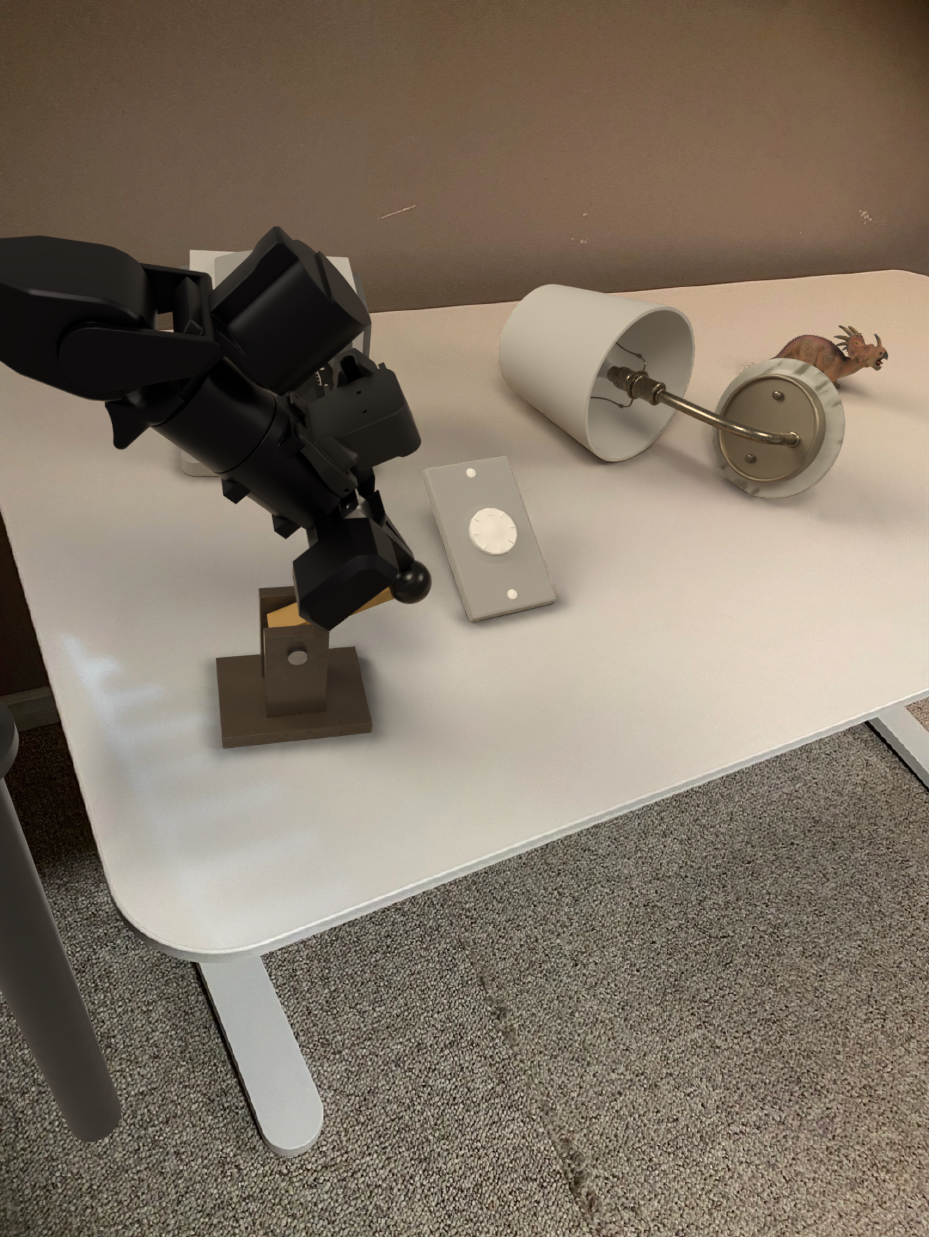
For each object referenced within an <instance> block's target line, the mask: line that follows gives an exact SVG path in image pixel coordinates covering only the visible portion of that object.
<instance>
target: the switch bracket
mask: <svg viewBox="0 0 929 1237" xmlns="http://www.w3.org/2000/svg"><path fill="white" fill-rule="evenodd" d="M257 592H258V621H259V622H258V626H259V628H258V630H259V631H258V632H259V653H257V654H245V655H233V656H222V657H221V656H220V657H215V668H216V681H217V694H218V706H219V718H220V719H219V720H220V731H221V732H220V733H221V744H222V749H230V748H239V747H249V746H258V745H259V746H260V745H267V744H275V743H285V742H287V743H288V742H295V741H304V740H313V739H323V738H333V737H341V736H342V737H343V736H351V735H359V734H360V735H361V734H368V733H369V734H370V733H372V727H373V720H372V716H371V711H370V706H369V703H368V699H367V694H366V688H365V685H364V684H365V683H364V679H363V676H362V670H361V665H360V661H359V657H358V652H357V649H356V648H357V647H356V646H341V647H330V631H324V630H320V629H319V628H317V627H315V626H314V625H312V624H309V625H295V626H282V627H268V619H267V614H269V613H271V612H274V611H276V610H279V609H281V608H284V607H286V606H289V605H291V604H294V603H296V602H297V601H296V595H295V589H294V585H285V586H271V587H258V590H257Z"/></svg>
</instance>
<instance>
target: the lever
mask: <svg viewBox="0 0 929 1237" xmlns="http://www.w3.org/2000/svg"><path fill="white" fill-rule="evenodd" d="M432 584H433V578H432V574H431V571H430V570H429V568H428V567H427V566H426V565H425V564H424V563H422V562H421V561H419V560H416V559H415V561H414V563H412V564H411V565H410V566H408V567H407V568H405V569H399V573H398V575H397V577H396V579H395V581H394V583H393V584H392V585H390V586H389V587H388V588H386V589H385V590H384V591H382V592H381V593H380V594H378V595H377V596H376V597H374V598H373V599H372V600H370V601H369V602H368V603H366V604H365V605H364V606H362V607H361V608H360V609H358V610H357V611H356V612H354V613H353V614H352V615H350V616H349V617H352V616H355V615H356V614H358V613H362V612H364V611H366V610H369V609H372V608H375V607H377V606H379V605H383V604H384V603H388V602H389V601H392V600H396V601H397V602H398V603H401V604H404V605H414V604H418V603H420V602H422V601H424V600H425V599H426V598H427V597H428V596H429V594H430V592H431V590H432ZM267 619H268V627H282V626H295V625H309V624H311V623H309V622H307V621H306V620H304V619H303V618H301V617H299V613H298V607H297V602H296V603H294V604H291V605H289V606H286V607H284V608H281V609H279V610H276V611H274V612H271V613H269V614H267Z"/></svg>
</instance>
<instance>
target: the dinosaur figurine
mask: <svg viewBox="0 0 929 1237" xmlns="http://www.w3.org/2000/svg"><path fill="white" fill-rule="evenodd" d="M838 328H840V329H841V330H843V332H845V333H846V334H847V335H841V334H840V335H838V334H837V335H834V336H833V338H835V339H838V340H842V342H839V343H836V344H835V343H834V342H833V340H830V339H828V338H826V337H824V336H820V335H815V334H801V335H797V336H796V337H794V338H792V340H790V341H788V342H787V343H786V344H785V345H784V346H783V347H782V348H781V350H780V351H779V352H778V353H777V354H776V355H774V356H773V357H771V358H769V359H768V360H770V359H776V358H789V359H796V360H800V361H803V362H806V363H808V364H810V365H812V366H814V367H816V368H817V369H819V370H820V371H821V372H823V373H824V374H825V375H826V376H827V377H828V378H829V379H830V380H831V382H832V383H833V384H834V386H835V388H836V389H841V388H842V387H841V384H840V383H838V382H837V381H838V380H839V379H841V378H845V377H848V376H851V375H854V374H856V373H857V372H858V371H860V370H862V369H863V368H866V369H867V368H871V369H873V370H874V371H876V372H877V371H880V370H881V369H882V367H883V366H882V365H883V364H884V362H883V360H886V361H888V360H889V353H888V351H887V349H886V348H885V347H884V346H883V343H882V340H881V337H880V336H879V335H878V334H877V333H874V334H873V336H874V337H875V339H876V346H875V344H874V343H867V344H866V341H865V338H864V336H863V335H862V332H859V331H858V330H857V329H856V328H855V327H853V326H851V325H848V327H845V326H843V325H840V324H839V325H838ZM840 347H842V349H841V348H840ZM844 351H845V352H846V353H847V356H846V355H845V353H844Z"/></svg>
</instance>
